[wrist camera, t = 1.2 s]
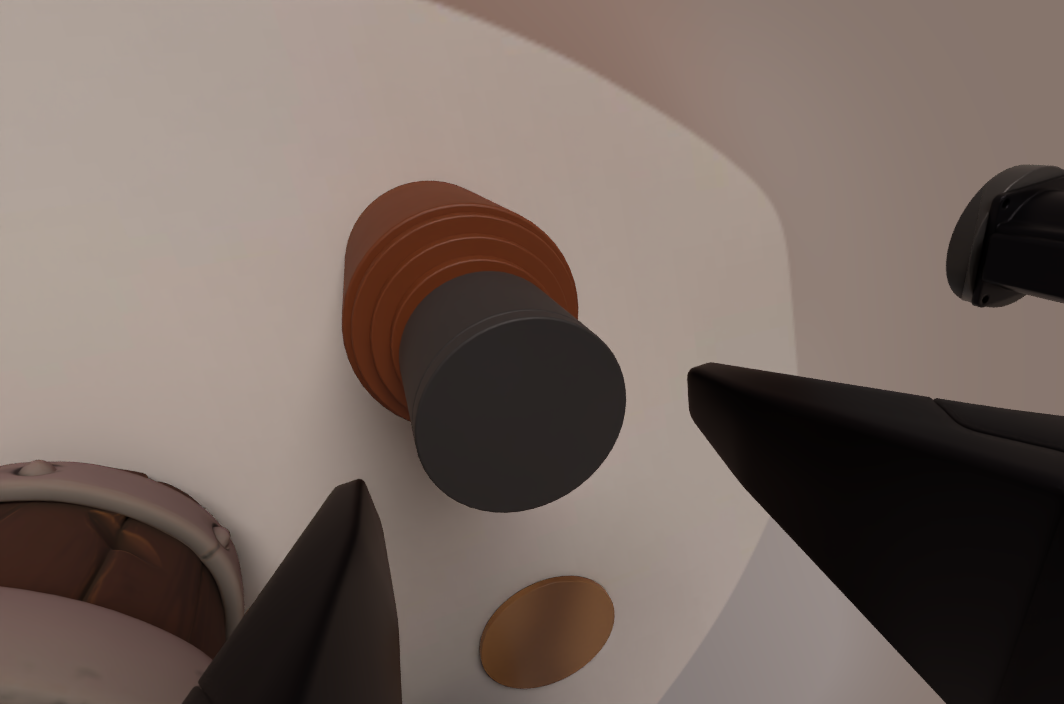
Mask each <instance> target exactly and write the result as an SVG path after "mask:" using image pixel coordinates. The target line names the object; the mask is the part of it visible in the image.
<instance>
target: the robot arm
mask: <svg viewBox="0 0 1064 704" xmlns="http://www.w3.org/2000/svg"><path fill="white" fill-rule="evenodd" d="M1020 294H1026V295H1031V296H1035V297H1039V298H1043V299H1048V300H1052V301H1056V302H1060V303H1064V175H1061V176H1058V177H1054V178H1051V179H1048V180H1044V181H1041V182H1037V183H1034V184H1030V185H1027V186H1024V187H1020V188H1017V189H1013V190H1010V191H1007V192H1003V193H1000V194H998V195H997V196H996V197H995V198H994V199H993V201H992V203H991V207H990V212H989V217H988V222H987V226H986V231H985V236H984V241H983V246H982V251H981V256H980V261H979V266H978V271H977V275H976V280H975V285H974V290H973V295H972V301H971V303H972V304H973V305H974V306H978V307H986V306H989V305H992V304H994V303H997V302H1000V301H1003V300H1006V299H1009V298H1012V297H1014V296H1017V295H1020ZM687 382H688V401H689V411H690V415H691V417H692V419H693V421H694V423H695V424H696V425H697V427H698V428H699V429H700V431H701V432H702V433H703V435H704V436H705V437H706V439H707V440H708V441H709V443H710V444H711V445H712V446H713V448H714V449H715V450H716V452H717V453H718V454H719V456H720V457H721V458H722V460H723V461H724V462H725V464H726V465H727V466H728V468H729V469H730V470H731V472H732V473H733V474H734V476H735V477H736V478H737V479H738V481H739V482H740V483H741V484H742V485H743V487H744V488H745V489H746V490H747V491H748V492H749V493H750V494H751V496H752V497H753V498H754V499H755V500H756V501H757V502H758V503H759V504H760V505H761V506H762V507H763V508H764V509H765V510H766V512H767V513H768V514H769V515H770V516H771V517H772V518H773V519H774V520H775V521H776V522H777V523H778V524H779V525H780V527H781V528H782V529H783V530H784V531H785V532H786V533H787V534H788V535H789V536H790V537H791V538H792V539H793V540H794V541H795V542H796V544H797V545H798V546H799V547H800V548H801V549H802V550H803V551H804V552H805V553H806V554H807V555H808V556H809V557H810V559H811V560H812V561H813V562H814V563H815V564H816V565H817V566H818V567H819V568H820V569H821V570H822V571H823V572H824V573H825V574H826V576H827V577H828V578H829V579H830V580H831V581H832V582H833V583H834V584H835V585H836V586H837V587H838V588H839V590H841V592H842V593H843V594H844V595H845V596H846V597H847V598H848V599H849V600H850V601H851V602H852V603H853V604H854V606H856V608H857V609H858V610H859V611H860V612H861V613H862V614H863V615H864V616H865V617H866V618H867V619H868V621H869V622H870V623H871V624H872V625H873V626H874V627H875V628H876V629H877V630H878V631H879V632H880V633H881V634H882V635H883V637H885V639H886V640H887V641H888V642H889V643H890V644H891V645H892V646H893V647H894V648H895V649H896V650H897V651H898V653H899V654H900V655H901V656H902V657H903V658H904V659H905V660H906V661H907V662H908V663H909V664H910V665H911V666H912V668H913V669H914V670H915V671H916V672H917V673H918V674H919V675H920V676H921V677H922V678H923V679H924V680H925V681H926V682H927V684H928V685H929V686H930V687H931V688H932V689H933V690H934V691H935V692H936V693H937V694H938V695H939V696H940V697H941V698H942V700H943V701H944V702H945V703H946V704H1064V416H1058V415H1050V414H1042V413H1034V412H1026V411H1019V410H1011V409H1004V408H996V407H990V406H984V405H976V404H969V403H963V402H957V401H951V400H945V399H938V398H936V399H934V400H932V399H931V398H930V397H925V396H919V395H913V394H906V393H900V392H894V391H887V390H881V389H875V388H869V387H863V386H856V385H850V384H844V383H837V382H831V381H825V380H818V379H813V378H806V377H800V376H794V375H787V374H781V373H775V372H769V371H762V370H756V369H750V368H744V367H737V366H731V365H725V364H719V363H711V362H710V363H706V364H703V365H700V366H697V367H694V368H692V369H690V371H689V372H688V375H687ZM198 684H199V686H200V687H199V686H195V687H193V688H192V690H191V691H190V692H189V694H188V695H187V697H186V698H185V699H184V701H183V702H182V704H402V692H401V669H400V645H399V628H398V617H397V610H396V603H395V597H394V591H393V585H392V579H391V574H390V568H389V562H388V556H387V550H386V545H385V539H384V533H383V528H382V524H381V521H380V518H379V516H378V513H377V511H376V508H375V506H374V503H373V501H372V498H371V496H370V493H369V491H368V488H367V486H366V484H365V482H364V481H363V480H362V479H357V480H354V481H351V482H348V483H345V484H342V485H339V486H337V487H335V488H334V490H333V491H332V492H331V494H330V495H329V496H328V498H327V499H326V501H325V502H324V504H323V505H322V506H321V508H320V509H319V511H318V512H317V513H316V515H315V516H314V518H313V519H312V520H311V522H310V523H309V525H308V526H307V528H306V529H305V530H304V532H303V533H302V535H301V536H300V537H299V539H298V540H297V542H296V543H295V545H294V546H293V547H292V549H291V550H290V552H289V553H288V554H287V556H286V557H285V559H284V560H283V561H282V563H281V564H280V566H279V567H278V569H277V570H276V571H275V573H274V574H273V576H272V577H271V578H270V580H269V581H268V583H267V584H266V585H265V587H264V588H263V590H262V591H261V593H260V594H259V595H258V597H257V598H256V600H255V601H254V602H253V604H252V605H251V607H250V608H249V609H248V611H247V612H246V614H245V615H244V617H243V618H242V619H241V621H240V622H239V624H238V625H237V626H236V628H235V629H234V631H233V632H232V633H231V635H230V636H229V638H228V639H227V641H226V642H225V643H224V645H223V646H222V648H221V649H220V650H219V652H218V653H217V655H216V656H215V658H214V659H213V660H212V662H211V663H210V665H209V666H208V667H207V669H206V670H205V672H204V673H203V674H202V676H201V677H200V679H199V680H198Z"/></svg>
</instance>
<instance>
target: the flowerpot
mask: <svg viewBox="0 0 1064 704" xmlns="http://www.w3.org/2000/svg"><path fill="white" fill-rule="evenodd" d="M243 617H244V591H243V583H242V575H241V569H240V564H239V560H238V556H237V553H236V550H235V547H234V545H233V543H232V541H231V539H230V532H229V531H228V530H227V529H226V528H224V527H221V525H220V524H219V523H218V522H217V521H216V519H215V518H214V517H213V516H212V515H211V514H210V513H209V512H208V511H206V510H205V509H204V508H203V507H202V506H201V505H200V504H199V503H198V502H197V501H195V500H194V499H193V498H192V497H190V496H189V495H187V494H186V493H184V492H183V491H181V490H179V489H177V488H175V487H173V486H171V485H169V484H166V483H162V482H156V481H154V480H151V479H148V477H147V475H146V474H143V473H140V472H134V471H128V470H122V469H116V468H110V467H105V466H100V465H94V464H87V463H78V462H46V461H43V460H35V461H32V462H26V463H16V464H9V465H3V466H0V704H182V702H183V701H184V699H185V698H186V697H187V695H188V694H189V692H190V691H191V690H192V688H193V687H195V686H199V684H198V680H199V679H200V677H201V676H202V674H203V673H204V672H205V670H206V669H207V667H208V666H209V665H210V663H211V662H212V660H213V659H214V658H215V656H216V655H217V653H218V652H219V650H220V649H221V648H222V646H223V645H224V643H225V642H226V641H227V639H228V638H229V636H230V635H231V633H232V632H233V631H234V629H235V628H236V626H237V625H238V624H239V622H240V621H241V619H242V618H243ZM199 687H200V686H199Z"/></svg>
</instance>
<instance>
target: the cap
mask: <svg viewBox="0 0 1064 704" xmlns="http://www.w3.org/2000/svg"><path fill="white" fill-rule="evenodd" d="M399 365H400V372H401V377H402V382H403V387H404V391H405V396H406V401H407V406H408V411H409V416H410V421H411V425H412V430H413V435H414V440H415V445H416V449H417V453H418V457H419V459H420V461H421V464H422V466H423V468H424V470H425V472H426V473H427V475H428V476H429V478H430V479H431V480H432V481H433V483H434V484H435V485H436V486H437V487H438V488H439V489H440V490H441V491H443V492H444V493H445V494H446V495H447V496H449V497H451V498H452V499H454V500H456V501H457V502H459V503H461V504H464V505H466V506H468V507H471V508H475V509H478V510H482V511H489V512H504V513H508V512H519V511H524V510H529V509H534V508H537V507H540V506H543V505H546V504H548V503H551V502H553V501H555V500H557V499H559V498H561V497H563V496H565V495H567V494H568V493H570V492H571V491H573V490H574V489H576V488H577V487H579V486H580V485H581V484H582V483H583V482H585V481H586V480H587V479H588V478H589V477H590V476H591V475H592V474H593V473H594V472H595V471H596V470H597V469H598V468H599V467H600V465H601V464H602V463H603V462H604V460H605V459H606V458H607V456H608V454H609V453H610V451H611V450H612V448H613V446H614V444H615V442H616V440H617V438H618V436H619V433H620V430H621V427H622V424H623V419H624V415H625V407H626V389H625V384H624V378H623V374H622V372H621V369H620V366H619V364H618V362H617V360H616V358H615V356H614V354H613V353H612V352H611V350H610V349H609V348H608V346H607V345H606V344H605V343H604V342H603V341H602V340H601V339H600V338H599V337H598V336H597V335H595V334H594V333H593V332H592V331H591V330H589V329H588V328H587V327H586V326H585V325H583V324H582V323H581V322H580V321H578V320H577V319H576V318H575V317H574V316H572V315H571V314H570V313H569V312H567V311H566V310H565V309H564V308H563V307H561V306H560V305H559V304H558V303H557V302H555V301H554V300H553V299H552V298H550V297H549V296H548V295H547V294H546V293H544V292H543V291H542V290H541V289H539V288H538V287H537V286H535V285H534V284H533V283H531V282H529V281H527V280H525V279H524V278H522V277H519V276H516V275H513V274H509V273H505V272H498V271H480V272H474V273H468V274H465V275H462V276H459V277H456V278H453V279H451V280H449V281H447V282H445V283H443V284H442V285H440V286H439V287H437V288H436V289H434V290H433V291H432V292H431V293H429V294H428V295H427V296H426V297H425V298H424V299H423V300H422V301H421V302H420V303H419V304H418V306H417V307H416V308H415V310H414V311H413V313H412V314H411V316H410V318H409V320H408V321H407V323H406V325H405V328H404V331H403V334H402V337H401V342H400V347H399Z"/></svg>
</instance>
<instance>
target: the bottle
mask: <svg viewBox="0 0 1064 704" xmlns="http://www.w3.org/2000/svg"><path fill="white" fill-rule="evenodd" d="M480 271H498V272H505V273H509V274H513V275H516V276H519V277H522V278H524V279H525V280H527V281H529V282H531V283H533V284H534V285H535V286H537V287H538V288H539V289H541V290H542V291H543V292H544V293H546V294H547V295H548V296H549V297H550V298H552V299H553V300H554V301H555V302H557V303H558V304H559V305H560V306H561V307H563V308H564V309H565V310H566V311H567V312H569V313H570V314H571V315H572V316H574V317H575V318H576V319H577V320H578V299H577V291H576V287H575V282H574V279H573V276H572V273H571V270H570V267H569V266H568V264H567V262H566V260H565V258H564V256H563V254H562V253H561V251H560V250H559V249H558V247H557V246H556V244H555V243H554V242H553V241H552V240H551V239H550V238H549V237H548V236H547V234H546V233H545V232H544V231H542V230H541V229H540V228H539V227H537V226H536V225H535V224H534V223H532V222H531V221H529V220H527V219H525V218H524V217H522V216H520V215H519V214H517V213H514V212H512V211H510V210H508V209H506V208H504V207H502V206H500V205H498V204H496V203H494V202H492V201H490V200H487V199H485V198H483V197H481V196H479V195H477V194H475V193H473V192H471V191H469V190H467V189H464V188H462V187H459V186H457V185H454V184H450V183H446V182H439V181H419V182H412V183H408V184H404V185H401V186H398V187H396V188H394V189H391V190H389V191H387V192H386V193H384V194H383V195H381V196H380V197H378V198H377V199H376V200H375V201H373V202H372V203H371V204H370V205H369V206H368V207H367V208H366V209H365V210H364V212H363V213H362V214H361V215H360V217H359V218H358V220H357V221H356V223H355V225H354V227H353V229H352V231H351V233H350V236H349V240H348V243H347V248H346V254H345V269H344V288H343V307H342V333H343V340H344V346H345V349H346V353H347V356H348V360H349V362H350V364H351V366H352V368H353V371H354V373H355V374H356V376H357V378H358V379H359V381H360V382H361V384H362V385H363V387H364V388H365V389H366V390H367V391H368V392H369V394H370V395H371V396H372V397H373V398H374V399H375V400H377V401H378V402H379V403H380V404H381V405H382V406H383V407H385V408H386V409H388V410H389V411H391V412H392V413H394V414H395V415H398V416H400V417H402V418H404V419H406V420H408V421H410V416H409V411H408V406H407V401H406V396H405V391H404V387H403V382H402V377H401V372H400V365H399V347H400V342H401V337H402V334H403V331H404V328H405V325H406V323H407V321H408V320H409V318H410V316H411V314H412V313H413V311H414V310H415V308H416V307H417V306H418V304H419V303H420V302H421V301H422V300H423V299H424V298H425V297H426V296H427V295H428V294H429V293H431V292H432V291H433V290H434V289H436V288H437V287H439V286H440V285H442V284H443V283H445V282H447V281H449V280H451V279H453V278H456V277H459V276H462V275H465V274H468V273H474V272H480ZM410 422H411V421H410Z"/></svg>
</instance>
